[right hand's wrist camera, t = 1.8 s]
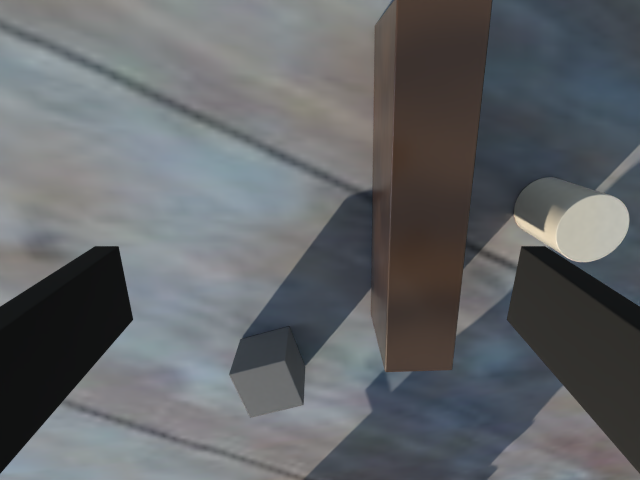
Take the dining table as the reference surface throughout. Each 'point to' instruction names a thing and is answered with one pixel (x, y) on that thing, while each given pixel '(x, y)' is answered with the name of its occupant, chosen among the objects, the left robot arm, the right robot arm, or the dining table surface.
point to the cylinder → (572, 218)
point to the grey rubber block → (269, 372)
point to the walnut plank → (423, 173)
